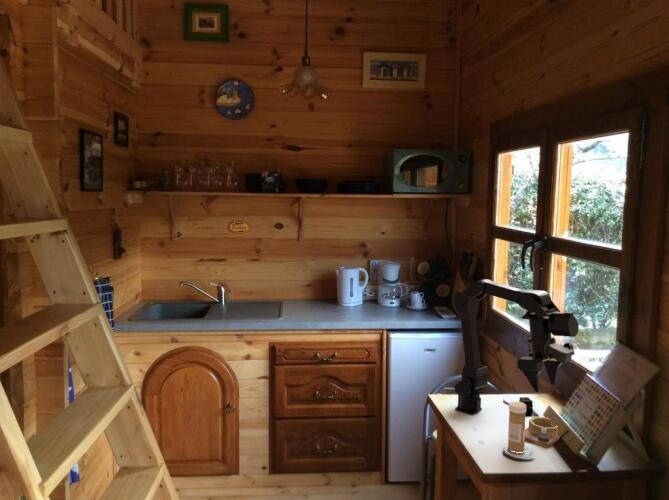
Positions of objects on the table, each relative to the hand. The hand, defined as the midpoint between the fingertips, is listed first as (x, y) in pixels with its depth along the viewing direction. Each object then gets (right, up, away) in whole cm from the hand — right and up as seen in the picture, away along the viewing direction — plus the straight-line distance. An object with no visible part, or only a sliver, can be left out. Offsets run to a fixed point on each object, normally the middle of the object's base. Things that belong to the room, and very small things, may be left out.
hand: (545, 388), depth 162 cm
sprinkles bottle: (-11, -16, -7) cm, 21 cm away
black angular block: (+1, -13, +21) cm, 25 cm away
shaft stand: (+1, -15, +4) cm, 15 cm away
